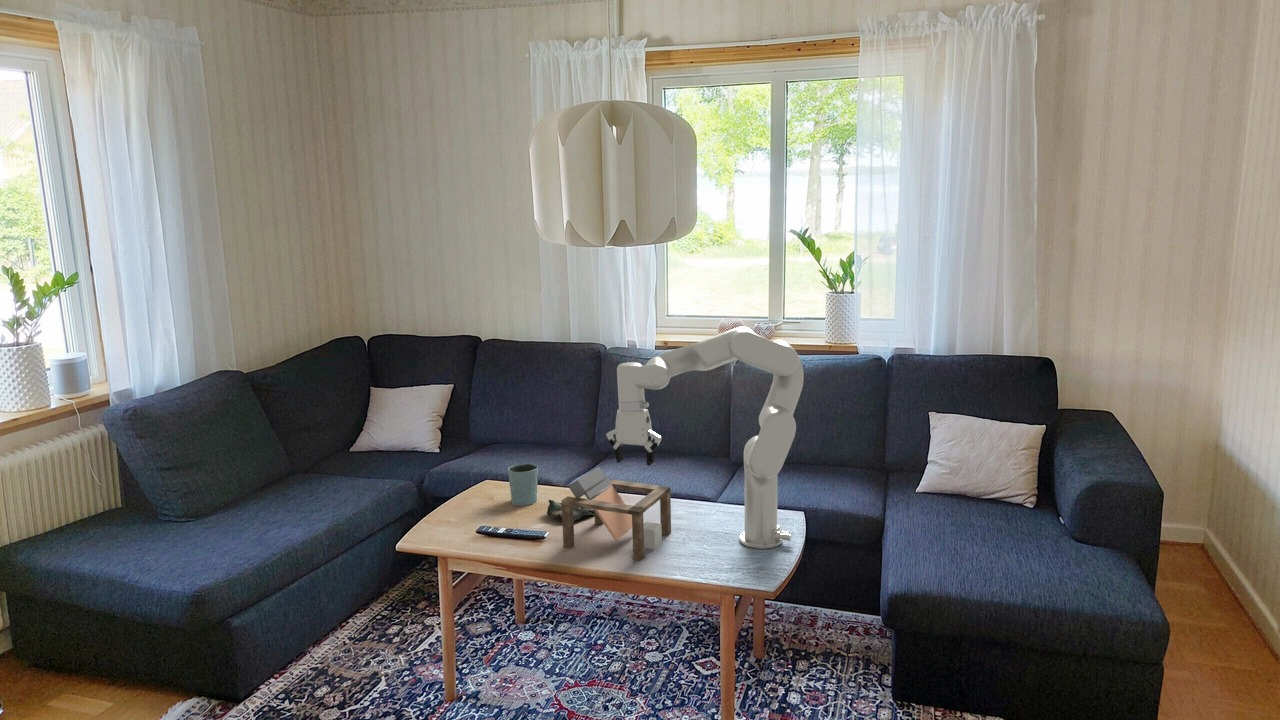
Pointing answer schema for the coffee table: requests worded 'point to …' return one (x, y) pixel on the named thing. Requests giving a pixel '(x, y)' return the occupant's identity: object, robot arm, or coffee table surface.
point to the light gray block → (652, 535)
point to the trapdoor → (603, 490)
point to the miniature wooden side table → (636, 512)
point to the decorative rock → (556, 510)
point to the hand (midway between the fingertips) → (635, 462)
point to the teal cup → (523, 484)
